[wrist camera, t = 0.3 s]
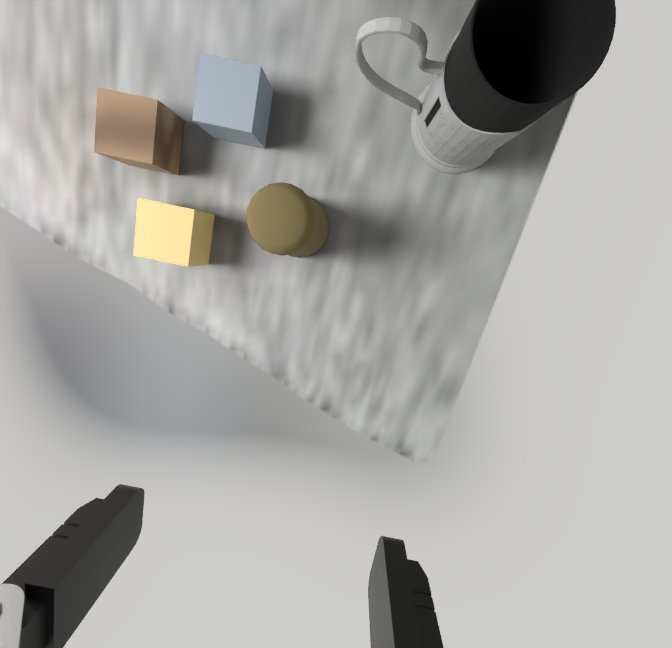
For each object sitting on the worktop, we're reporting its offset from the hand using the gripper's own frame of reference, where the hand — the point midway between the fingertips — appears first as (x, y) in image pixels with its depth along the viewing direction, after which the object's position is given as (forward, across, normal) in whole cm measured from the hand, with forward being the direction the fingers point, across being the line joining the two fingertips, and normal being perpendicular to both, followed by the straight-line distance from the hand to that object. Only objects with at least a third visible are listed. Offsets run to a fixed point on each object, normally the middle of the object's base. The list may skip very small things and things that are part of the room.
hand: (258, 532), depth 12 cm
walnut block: (+27, +19, -15) cm, 37 cm away
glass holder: (+28, -6, -22) cm, 36 cm away
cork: (+27, +4, -10) cm, 29 cm away
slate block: (+27, +11, -19) cm, 35 cm away
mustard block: (+27, +15, -7) cm, 32 cm away
